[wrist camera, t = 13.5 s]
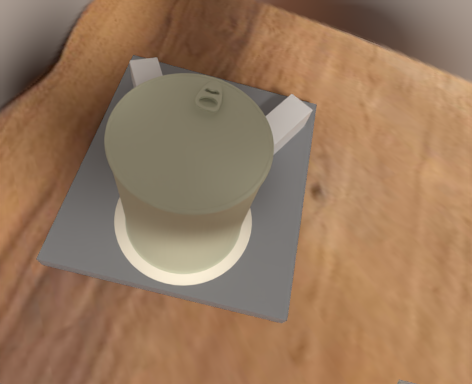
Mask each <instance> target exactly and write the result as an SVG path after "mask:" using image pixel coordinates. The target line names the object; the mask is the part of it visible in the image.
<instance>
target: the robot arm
mask: <svg viewBox="0 0 472 384" xmlns="http://www.w3.org/2000/svg"><path fill="white" fill-rule="evenodd" d="M397 384H415V383H411V382H407V381H403V380H399V381H398V383H397Z"/></svg>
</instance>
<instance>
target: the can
mask: <svg viewBox="0 0 472 384" xmlns="http://www.w3.org/2000/svg"><path fill="white" fill-rule="evenodd" d="M104 144H105V153H106V157H107V160H108V163H109V166H110V168H111V170H112V172H113V175H114V178H115V182H116V185H117V188H118V192H119V195H120V199H121V203H122V207H123V210H124V214H125V225H126V232H127V235H128V238H129V241H130V242H131V244H132V246H133V248H134V249H135V251H136V252H137V253H138V254H139V256H140V257H141V258H142V259H144V260H145V261H146V262H147V263H149V264H150V265H152V266H154V267H156V268H158V269H160V270H163V271H166V272H169V273H175V274H192V273H198V272H201V271H205V270H207V269H209V268H212V267H213V266H215V265H217V264H218V263H220V262H221V261H222V260H223V259H224V258H225V257H227V256H228V254H229V253H230V252H231V251H232V249H233V248H234V246H235V244H236V242H237V240H238V238H239V235H240V231H241V226H242V224H243V222H244V219H245V217H246V215H247V213H248V211H249V209H250V206H251V204H252V202H253V200H254V198H255V196H256V194H257V192H258V190H259V188H260V186H261V185H262V183H263V182H264V180H265V179H266V177H267V175H268V173H269V171H270V168H271V165H272V161H273V155H274V141H273V135H272V131H271V128H270V125H269V123H268V120H267V118H266V117H265V115H264V113H263V112H262V110H261V109H260V108H259V106H258V105H257V104H256V103H255V102H254V101H253V100H252V99H251V98H250V97H249V96H248V95H247V94H245V93H244V92H243V91H241V90H240V89H238V88H237V87H235V86H233V85H231V84H229V83H227V82H225V81H223V80H220V79H217V78H214V77H210V76H207V75H201V74H193V73H177V74H168V75H164V76H159V77H156V78H153V79H150V80H148V81H146V82H144V83H142V84H140V85H138V86H136V87H135V88H133V89H132V90H130V91H129V92H128V93H127V94H126V95H125V96H124V97H123V98H122V99H121V100H120V101H119V102H118V103H117V105H116V106H115V108H114V109H113V111H112V113H111V115H110V117H109V119H108V122H107V125H106V130H105V137H104Z"/></svg>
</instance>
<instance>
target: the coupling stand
mask: <svg viewBox="0 0 472 384" xmlns="http://www.w3.org/2000/svg"><path fill="white" fill-rule="evenodd" d="M177 73H193V74H201V75H205V74H202V73H198V72H194V71H191V70H187V69H183V68H180V67H176V66H172V65H168V64H165V63H161V62H158V59H157V57H155V58H147V59H146V58H143V57H139V56H135V55H133V57H132V59H131V60H130V63H129V65H128V67H127V69H126V71H125V73H124V75H123V78H122V80H121V82H120V84H119V86H118V88H117V90H116V92H115V94H114V97H113V99H112V101H111V103H110V105H109V107H108V109H107V111H106V113H105V115H104V118H103V120H102V122H101V124H100V126H99V128H98V130H97V132H96V134H95V137H94V139H93V141H92V143H91V145H90V147H89V149H88V151H87V153H86V155H85V158H84V160H83V162H82V164H81V166H80V168H79V170H78V172H77V174H76V177H75V179H74V181H73V183H72V185H71V187H70V189H69V191H68V193H67V195H66V198H65V200H64V202H63V204H62V206H61V208H60V210H59V212H58V214H57V217H56V219H55V221H54V223H53V225H52V227H51V229H50V231H49V233H48V235H47V238H46V240H45V242H44V244H43V246H42V248H41V250H40V252H39V254H38V257H37V260H38V261H39V262H40V263H41V264H42V265H46V266H50V267H54V268H58V269H62V270H66V271H70V272H74V273H78V274H83V275H87V276H91V277H95V278H99V279H103V280H107V281H111V282H115V283H119V284H123V285H128V286H132V287H136V288H140V289H144V290H148V291H152V292H156V293H160V294H164V295H168V296H173V297H177V298H181V299H185V300H189V301H193V302H197V303H201V304H205V305H209V306H213V307H217V308H222V309H226V310H230V311H234V312H238V313H242V314H246V315H250V316H254V317H258V318H262V319H267V320H271V321H275V322H279V323H283V322H285V321H287V318H288V310H289V303H290V296H291V288H292V281H293V274H294V266H295V259H296V252H297V244H298V237H299V230H300V222H301V215H302V208H303V200H304V193H305V186H306V178H307V171H308V164H309V157H310V149H311V142H312V135H313V127H314V120H315V113H316V104H313V103H309V102H305V101H302V100H299V99H298V98H297V97H295V96H294V95H293V94H291V95H290V96H289V97H287V96H283V95H279V94H276V93H272V92H268V91H265V90H261V89H257V88H253V87H250V86H246V85H242V84H239V83H235V82H231V81H228V80H224V79H220V78H217V77H214V78H217V79H220V80H223V81H225V82H227V83H229V84H231V85H233V86H235V87H237V88H238V89H240V90H241V91H243V92H244V93H245V94H247V95H248V96H249V97H250V98H251V99H252V100H253V101H254V102H255V103H256V104H257V105H258V106H259V108H260V109H261V110H262V112H263V113H264V115H265V117H266V118H267V120H268V123H269V125H270V128H271V131H272V135H273V141H274V155H273V161H272V165H271V168H270V171H269V173H268V175H267V177H266V179H265V180H264V182H263V183H262V185H261V186H260V188H259V190H258V192H257V194H256V196H255V198H254V200H253V202H252V204H251V206H250V209H249V211H248V213H247V215H246V217H245V219H244V222H243V224H242V226H241V231H240V235H239V238H238V240H237V242H236V244H235V246H234V248H233V249H232V251H231V252H230V253H229V254H228V256H227V257H225V258H224V259H223V260H222V261H221V262H220V263H218V264H217V265H215V266H213V267H212V268H209V269H207V270H205V271H201V272H198V273H192V274H175V273H169V272H166V271H163V270H160V269H158V268H156V267H154V266H152V265H150V264H149V263H147V262H146V261H145V260H144V259H142V258H141V257H140V256H139V254H138V253H137V252H136V251H135V249H134V248H133V246H132V244H131V242H130V241H129V238H128V235H127V232H126V225H125V214H124V210H123V207H122V203H121V199H120V195H119V192H118V188H117V185H116V182H115V178H114V175H113V172H112V170H111V168H110V166H109V163H108V160H107V157H106V153H105V144H104V137H105V130H106V125H107V122H108V119H109V117H110V115H111V113H112V111H113V109H114V108H115V106H116V105H117V103H118V102H119V101H120V100H121V99H122V98H123V97H124V96H125V95H126V94H127V93H128V92H129V91H130V90H132V89H133V88H135V87H136V86H138V85H140V84H142V83H144V82H146V81H148V80H150V79H153V78H156V77H159V76H164V75H168V74H177ZM207 76H209V75H207ZM210 77H213V76H210Z"/></svg>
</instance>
